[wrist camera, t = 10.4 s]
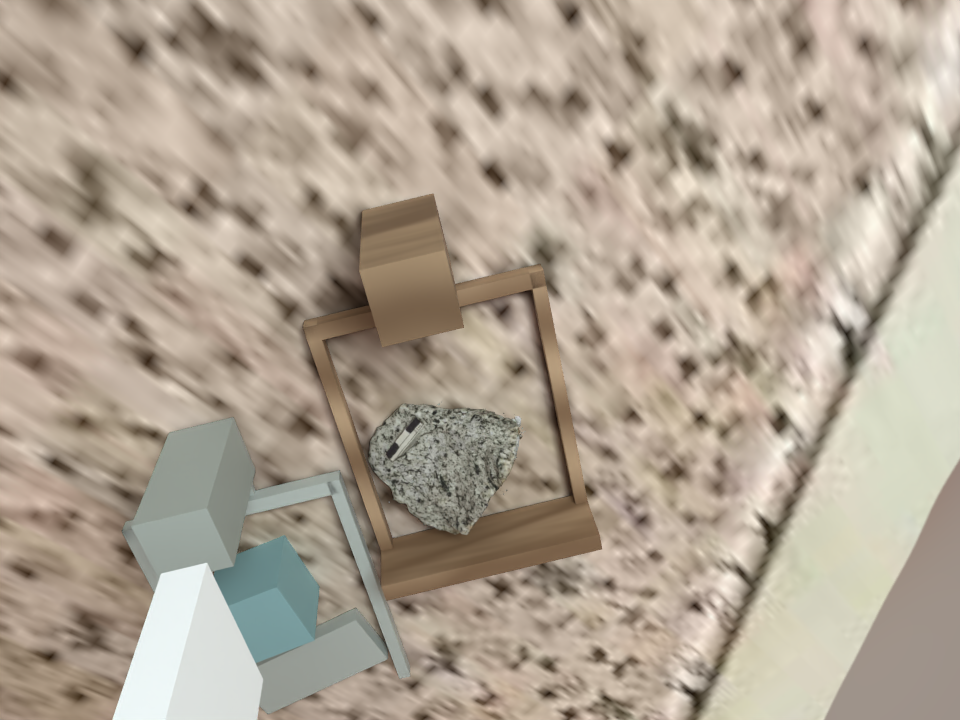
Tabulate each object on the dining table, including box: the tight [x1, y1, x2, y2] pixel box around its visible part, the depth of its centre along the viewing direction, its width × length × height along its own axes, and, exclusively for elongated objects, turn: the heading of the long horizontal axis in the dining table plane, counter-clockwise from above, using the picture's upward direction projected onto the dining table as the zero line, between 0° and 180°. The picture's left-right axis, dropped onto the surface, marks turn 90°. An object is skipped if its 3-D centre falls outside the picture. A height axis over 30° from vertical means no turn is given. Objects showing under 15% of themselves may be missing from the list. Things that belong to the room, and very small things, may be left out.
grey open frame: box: [122, 417, 410, 679], centre depth 53 cm, size 24×14×9 cm, turn 12°
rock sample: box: [368, 404, 525, 535], centre depth 52 cm, size 10×8×9 cm
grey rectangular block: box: [256, 608, 388, 714], centre depth 61 cm, size 4×10×1 cm, turn 117°
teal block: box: [214, 535, 319, 663], centre depth 55 cm, size 5×5×5 cm
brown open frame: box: [303, 194, 602, 601], centre depth 48 cm, size 24×14×9 cm, turn 12°
